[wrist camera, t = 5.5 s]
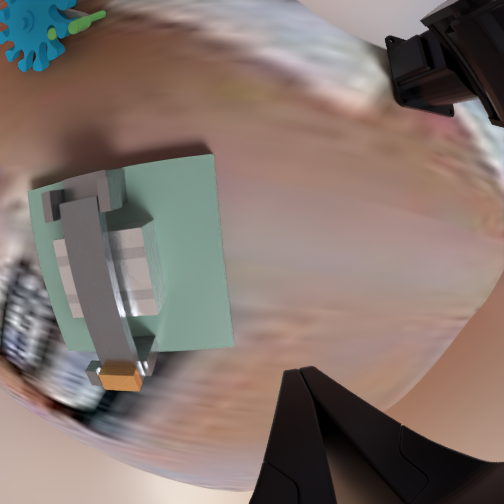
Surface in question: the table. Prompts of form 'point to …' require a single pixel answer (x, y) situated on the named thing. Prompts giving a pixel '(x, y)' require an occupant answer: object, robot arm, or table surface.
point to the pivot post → (87, 192)
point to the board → (171, 255)
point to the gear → (41, 29)
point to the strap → (100, 293)
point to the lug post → (146, 352)
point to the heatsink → (125, 269)
